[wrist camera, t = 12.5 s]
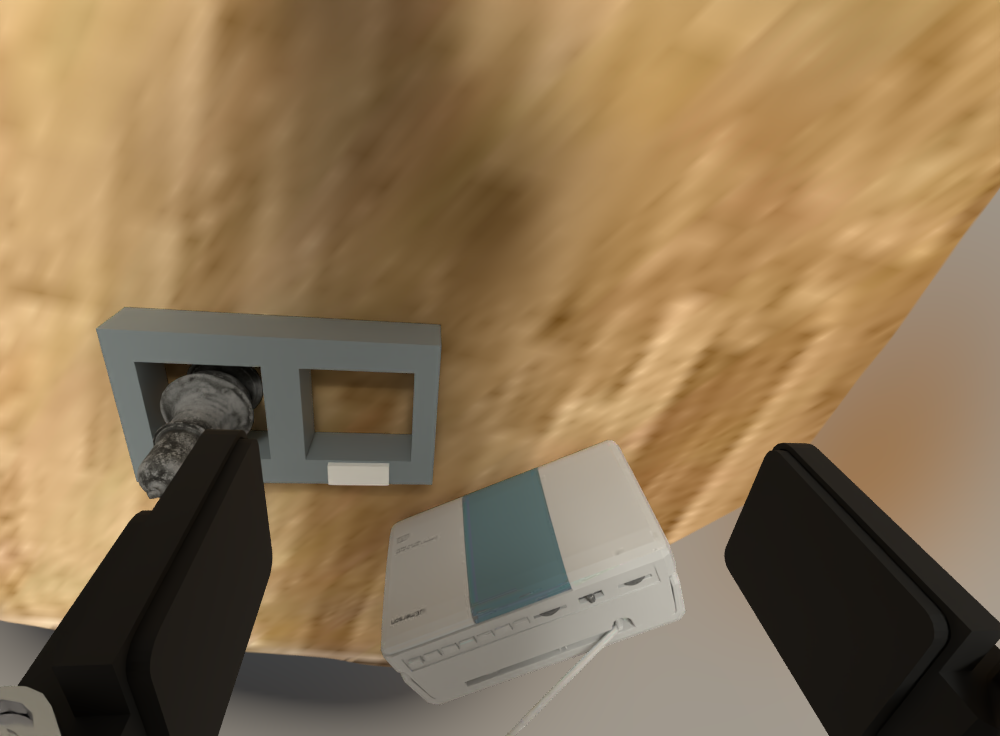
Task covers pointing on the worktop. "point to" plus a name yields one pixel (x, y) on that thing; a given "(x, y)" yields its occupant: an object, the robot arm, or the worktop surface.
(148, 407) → the socket board
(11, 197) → the worktop surface
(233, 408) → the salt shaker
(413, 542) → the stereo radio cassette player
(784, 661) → the robot arm
